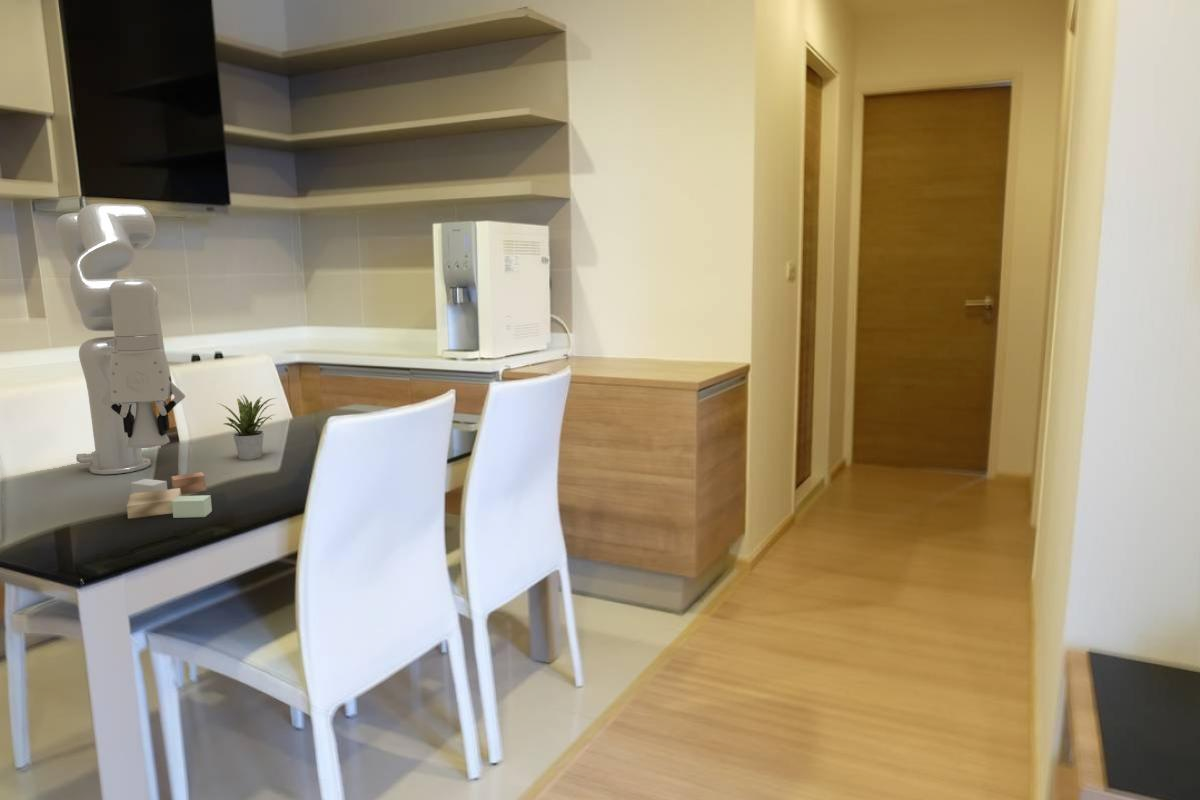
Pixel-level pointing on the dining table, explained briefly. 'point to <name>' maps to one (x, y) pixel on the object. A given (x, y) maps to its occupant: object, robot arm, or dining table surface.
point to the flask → (146, 428)
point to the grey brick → (148, 485)
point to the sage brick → (191, 506)
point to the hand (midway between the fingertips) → (147, 434)
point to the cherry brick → (189, 482)
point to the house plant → (248, 429)
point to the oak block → (151, 503)
